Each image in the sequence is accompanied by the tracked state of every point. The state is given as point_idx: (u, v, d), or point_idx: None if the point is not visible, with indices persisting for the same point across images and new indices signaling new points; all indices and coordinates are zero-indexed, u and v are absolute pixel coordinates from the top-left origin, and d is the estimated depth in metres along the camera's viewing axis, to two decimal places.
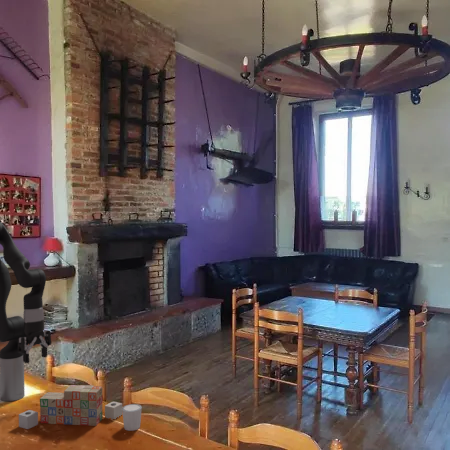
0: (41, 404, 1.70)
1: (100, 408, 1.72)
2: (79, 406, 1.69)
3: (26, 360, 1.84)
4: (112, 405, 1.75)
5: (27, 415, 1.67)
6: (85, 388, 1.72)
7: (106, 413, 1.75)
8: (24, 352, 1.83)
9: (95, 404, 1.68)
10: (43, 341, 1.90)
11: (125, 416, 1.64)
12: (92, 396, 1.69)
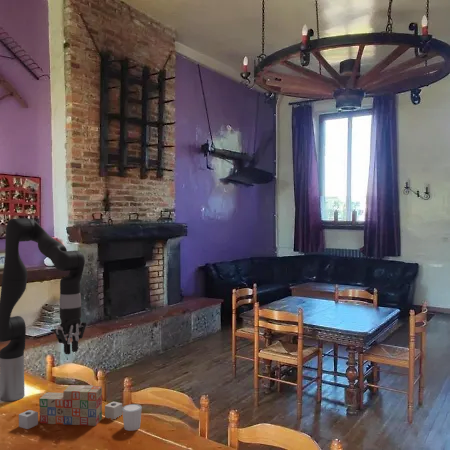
0: (41, 404, 1.70)
1: (100, 408, 1.72)
2: (78, 406, 1.69)
3: (67, 351, 1.70)
4: (112, 405, 1.75)
5: (27, 415, 1.67)
6: (85, 388, 1.72)
7: (106, 413, 1.75)
8: (65, 342, 1.69)
9: (95, 404, 1.68)
10: (77, 332, 1.73)
11: (125, 416, 1.64)
12: (91, 396, 1.69)
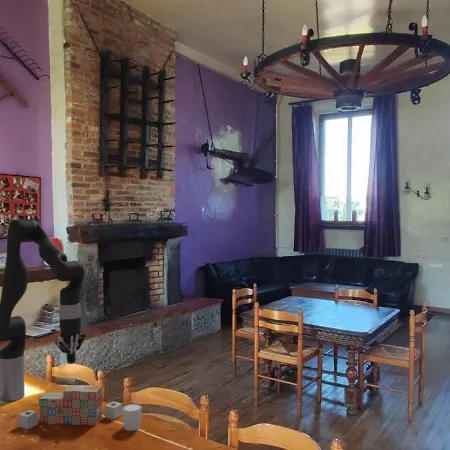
0: (41, 404, 1.70)
1: (99, 408, 1.73)
2: (78, 405, 1.69)
3: (70, 361, 1.71)
4: (112, 405, 1.75)
5: (27, 415, 1.67)
6: (84, 388, 1.72)
7: (106, 413, 1.75)
8: (68, 352, 1.70)
9: (95, 404, 1.69)
10: (76, 342, 1.72)
11: (125, 416, 1.64)
12: (91, 396, 1.69)
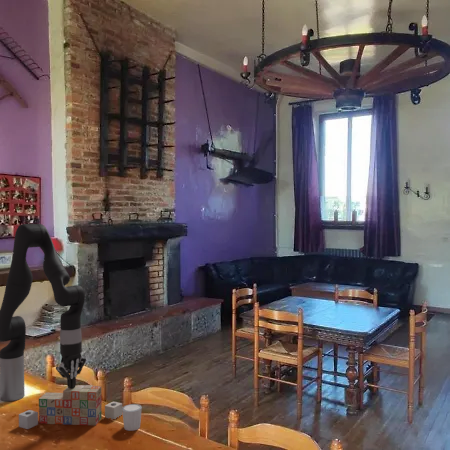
0: (40, 404, 1.70)
1: (99, 408, 1.73)
2: (78, 405, 1.69)
3: (70, 385, 1.71)
4: (112, 405, 1.75)
5: (27, 415, 1.67)
6: (84, 388, 1.72)
7: (106, 413, 1.75)
8: (69, 377, 1.71)
9: (94, 404, 1.69)
10: (76, 367, 1.72)
11: (125, 416, 1.64)
12: (91, 396, 1.69)
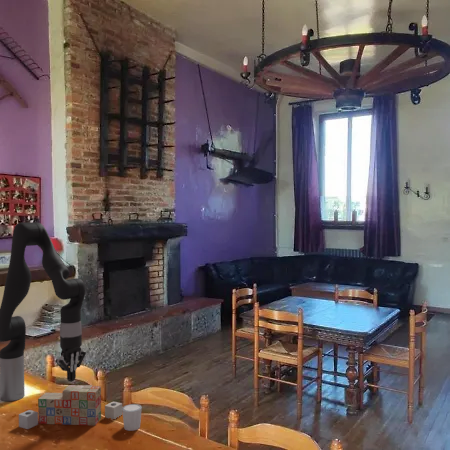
0: (40, 404, 1.70)
1: (99, 408, 1.73)
2: (77, 405, 1.69)
3: (70, 378, 1.71)
4: (112, 405, 1.75)
5: (27, 415, 1.67)
6: (84, 388, 1.72)
7: (106, 413, 1.75)
8: (69, 370, 1.71)
9: (94, 404, 1.69)
10: (76, 360, 1.72)
11: (125, 416, 1.64)
12: (91, 396, 1.69)
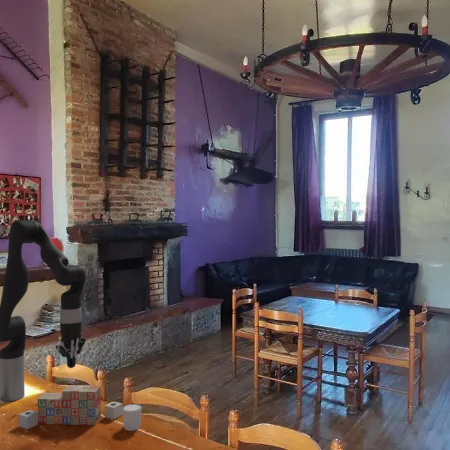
0: (39, 405, 1.70)
1: (98, 408, 1.73)
2: (77, 405, 1.69)
3: (70, 365, 1.71)
4: (112, 405, 1.75)
5: (27, 415, 1.67)
6: (83, 388, 1.72)
7: (106, 413, 1.75)
8: (69, 356, 1.70)
9: (94, 404, 1.69)
10: (76, 346, 1.72)
11: (125, 416, 1.64)
12: (90, 396, 1.69)
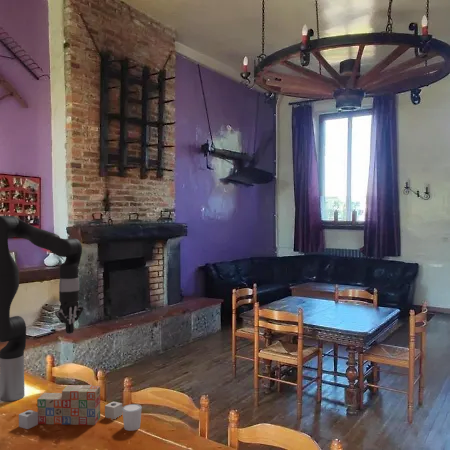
0: (39, 405, 1.70)
1: (98, 407, 1.73)
2: (77, 405, 1.69)
3: (69, 330, 1.85)
4: (112, 405, 1.75)
5: (27, 415, 1.67)
6: (83, 388, 1.72)
7: (106, 413, 1.75)
8: None
9: (94, 403, 1.69)
10: (74, 314, 1.86)
11: (125, 416, 1.64)
12: (90, 396, 1.69)
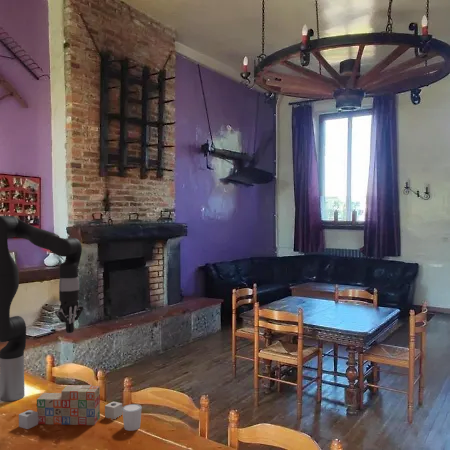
0: (38, 405, 1.70)
1: (98, 407, 1.73)
2: (76, 405, 1.69)
3: (69, 330, 1.85)
4: (112, 405, 1.75)
5: (27, 415, 1.67)
6: (83, 388, 1.72)
7: (106, 413, 1.75)
8: None
9: (93, 403, 1.69)
10: (74, 313, 1.86)
11: (125, 416, 1.64)
12: (90, 396, 1.69)
